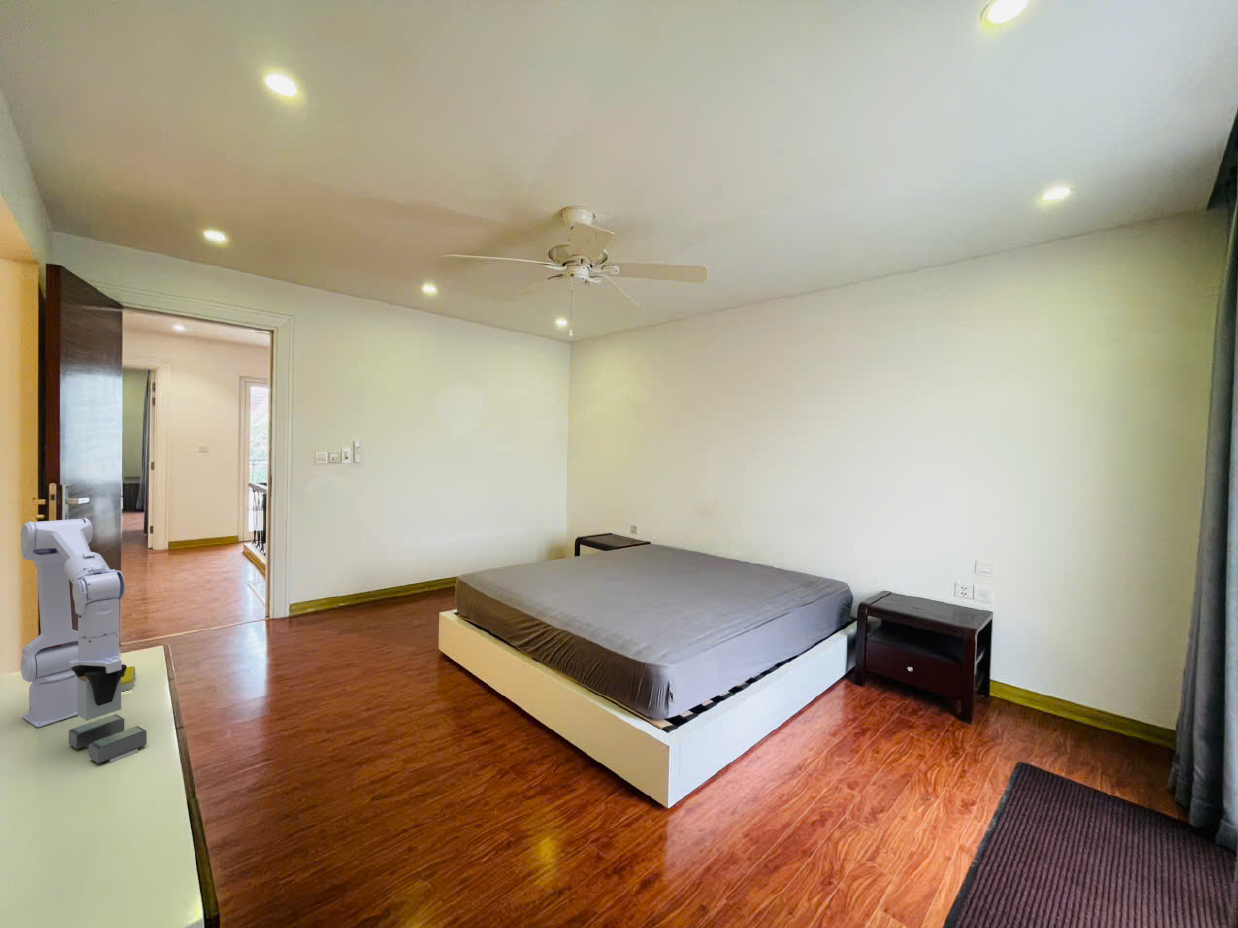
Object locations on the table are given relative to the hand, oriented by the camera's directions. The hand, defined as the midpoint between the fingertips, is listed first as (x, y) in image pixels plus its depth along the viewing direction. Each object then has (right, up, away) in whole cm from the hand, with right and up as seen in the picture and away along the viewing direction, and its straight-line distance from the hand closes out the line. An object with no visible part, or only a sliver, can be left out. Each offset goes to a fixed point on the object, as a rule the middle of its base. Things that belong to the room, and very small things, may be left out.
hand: (99, 700), depth 99 cm
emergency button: (-23, -9, +24) cm, 35 cm away
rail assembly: (+2, -9, 0) cm, 9 cm away
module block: (0, -2, 0) cm, 2 cm away
